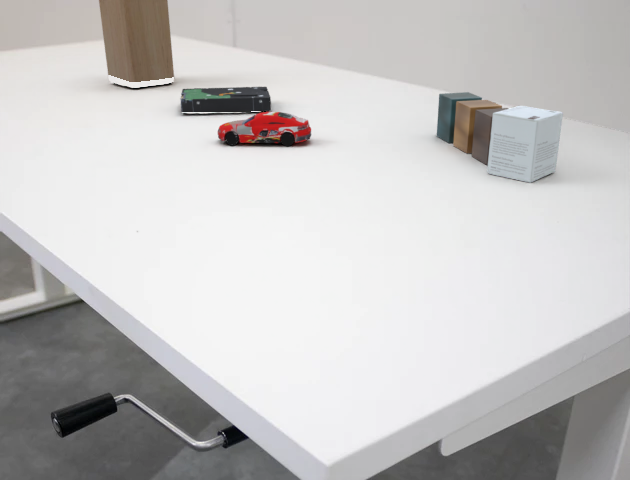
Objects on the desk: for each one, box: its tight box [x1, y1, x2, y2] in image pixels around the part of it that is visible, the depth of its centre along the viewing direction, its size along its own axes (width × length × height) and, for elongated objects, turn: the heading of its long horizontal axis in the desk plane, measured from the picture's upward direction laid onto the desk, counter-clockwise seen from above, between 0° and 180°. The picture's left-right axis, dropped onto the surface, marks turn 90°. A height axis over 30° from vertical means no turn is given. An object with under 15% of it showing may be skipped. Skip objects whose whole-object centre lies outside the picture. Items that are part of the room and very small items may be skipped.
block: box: [98, 0, 175, 82], centre depth 147 cm, size 10×10×20 cm
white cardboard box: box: [486, 105, 564, 184], centre depth 90 cm, size 6×6×7 cm
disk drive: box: [179, 86, 272, 113], centre depth 128 cm, size 10×3×15 cm
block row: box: [436, 91, 510, 166], centre depth 101 cm, size 16×4×6 cm, turn 14°
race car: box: [217, 111, 312, 147], centre depth 106 cm, size 13×5×4 cm, turn 84°
